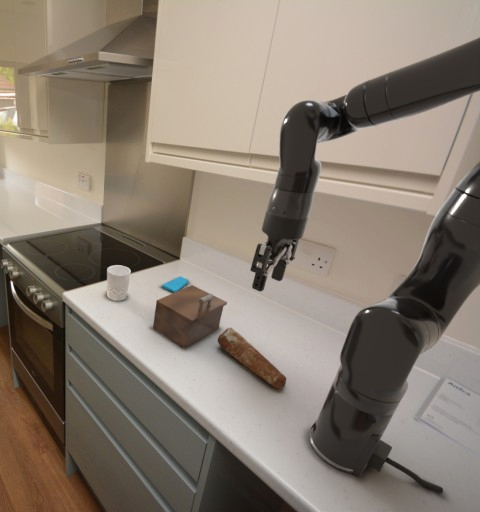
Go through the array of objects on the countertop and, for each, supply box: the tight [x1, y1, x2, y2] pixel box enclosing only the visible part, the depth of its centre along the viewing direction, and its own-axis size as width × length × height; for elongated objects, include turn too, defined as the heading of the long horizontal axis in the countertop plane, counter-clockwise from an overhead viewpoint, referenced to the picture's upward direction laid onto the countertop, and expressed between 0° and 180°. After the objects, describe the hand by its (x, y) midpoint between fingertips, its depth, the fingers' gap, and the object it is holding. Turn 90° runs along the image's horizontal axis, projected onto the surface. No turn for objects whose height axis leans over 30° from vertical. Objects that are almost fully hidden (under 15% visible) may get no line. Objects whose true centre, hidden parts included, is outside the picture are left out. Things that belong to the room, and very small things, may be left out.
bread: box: [217, 327, 287, 389], centre depth 87 cm, size 6×19×6 cm, turn 24°
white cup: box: [106, 264, 132, 302], centre depth 115 cm, size 8×8×10 cm
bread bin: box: [152, 302, 224, 350], centre depth 100 cm, size 12×17×9 cm
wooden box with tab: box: [155, 284, 228, 323], centre depth 97 cm, size 12×17×4 cm
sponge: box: [161, 276, 190, 293], centre depth 126 cm, size 2×12×6 cm
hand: (267, 284), depth 74 cm, fingers open, 8 cm apart
